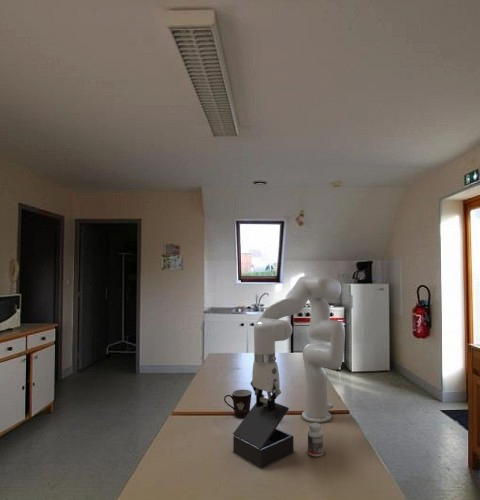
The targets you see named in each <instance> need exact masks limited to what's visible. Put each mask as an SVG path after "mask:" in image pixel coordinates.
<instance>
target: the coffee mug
mask: <svg viewBox="0 0 480 500" xmlns="http://www.w3.org/2000/svg"><path fill="white" fill-rule="evenodd" d="M252 392H253V391H251V390H249V389H245V388H244V389H242V388H241V389H236V390H232V392H231V394H226V395H225V396H224V397H223V401H224V403H225V404H226V405H227V406H228V407H230V408H231V409H233V413H234V417H235V418H236V419H240V420H241V419H243V420H244V418H245V417H246V415H247V414H248V413H249V411H250V410H251V403H252ZM227 397H229V398H231V400H232V404H233V406H232V405H231V404H229V403H228V402H227V400H226V399H227Z"/></svg>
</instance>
